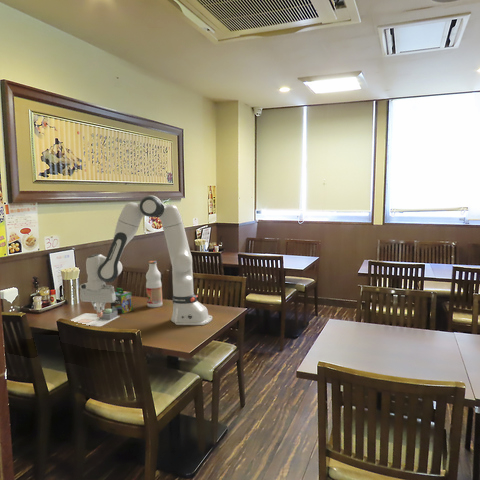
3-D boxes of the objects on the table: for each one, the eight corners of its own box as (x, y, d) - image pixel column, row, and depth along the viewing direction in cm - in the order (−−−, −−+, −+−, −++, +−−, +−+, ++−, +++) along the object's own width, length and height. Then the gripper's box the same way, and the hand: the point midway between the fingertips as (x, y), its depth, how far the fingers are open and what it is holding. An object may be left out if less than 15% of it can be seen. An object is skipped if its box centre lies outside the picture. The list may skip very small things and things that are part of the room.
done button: (113, 313, 220) (113, 308, 219) (109, 315, 216) (108, 310, 216) (107, 313, 221) (107, 308, 221) (103, 315, 217) (103, 310, 217)
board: (120, 316, 221) (120, 310, 221) (100, 327, 204) (100, 320, 204) (85, 314, 228) (84, 308, 228) (63, 324, 211) (62, 317, 211)
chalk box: (133, 310, 233) (131, 286, 231) (122, 314, 225) (120, 290, 223) (121, 308, 237) (120, 285, 236) (110, 313, 229) (108, 288, 227)
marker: (103, 315, 210) (101, 296, 208) (100, 317, 207) (98, 298, 206) (99, 315, 210) (97, 296, 209) (96, 317, 208) (94, 298, 206)
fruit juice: (159, 307, 237) (157, 262, 234) (144, 307, 239) (142, 262, 235) (164, 303, 246) (162, 260, 243) (150, 303, 248) (148, 260, 245)
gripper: (117, 283, 206) (119, 308, 208) (84, 282, 212) (87, 307, 214) (109, 286, 200) (112, 312, 202) (77, 285, 206) (79, 310, 208)
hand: (99, 309), depth 208 cm, fingers closed on marker, 2 cm apart
